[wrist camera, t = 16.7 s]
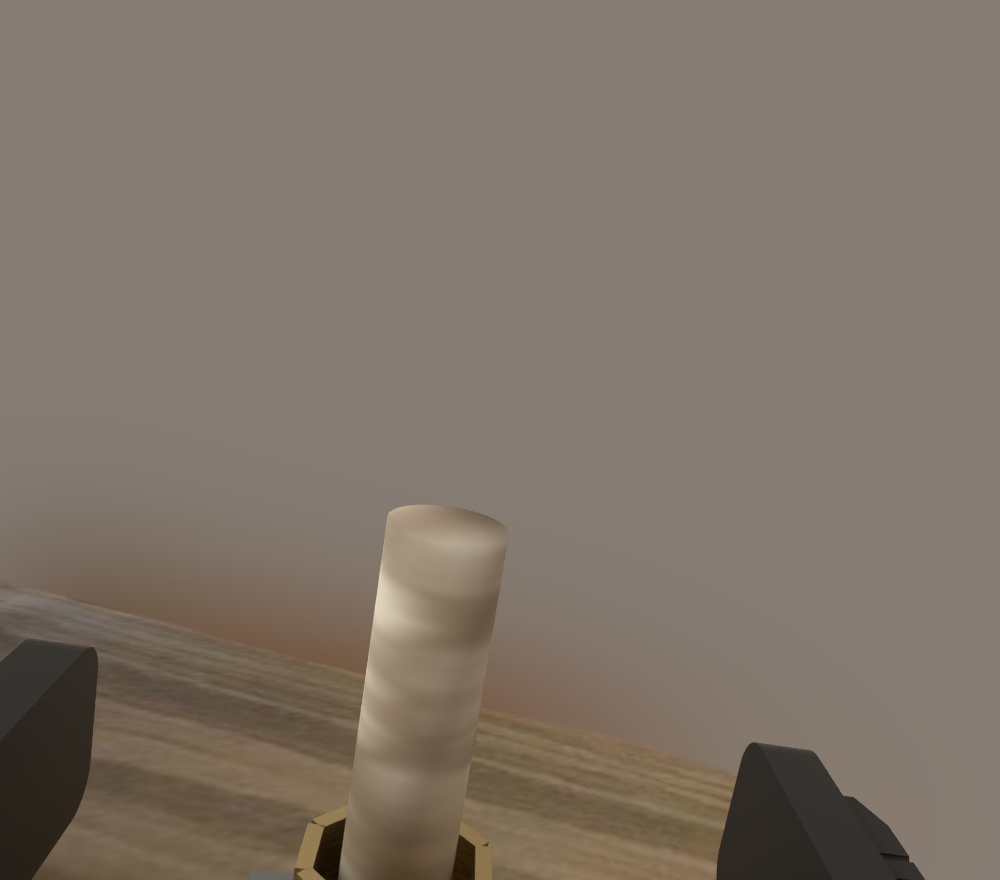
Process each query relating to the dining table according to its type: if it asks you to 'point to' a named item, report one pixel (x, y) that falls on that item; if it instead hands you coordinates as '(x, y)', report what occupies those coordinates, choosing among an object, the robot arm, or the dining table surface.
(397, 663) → the cylindrical post
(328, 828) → the cup bracket
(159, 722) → the dining table surface
